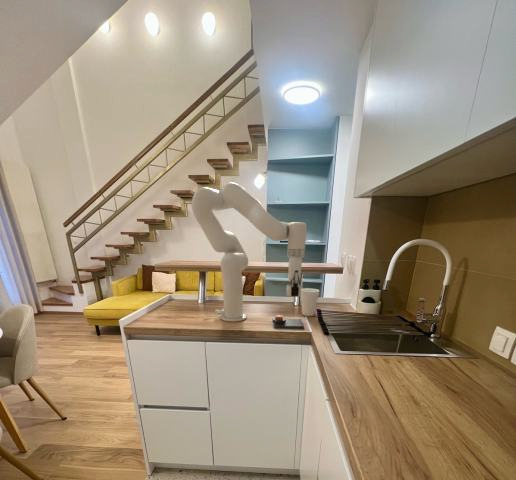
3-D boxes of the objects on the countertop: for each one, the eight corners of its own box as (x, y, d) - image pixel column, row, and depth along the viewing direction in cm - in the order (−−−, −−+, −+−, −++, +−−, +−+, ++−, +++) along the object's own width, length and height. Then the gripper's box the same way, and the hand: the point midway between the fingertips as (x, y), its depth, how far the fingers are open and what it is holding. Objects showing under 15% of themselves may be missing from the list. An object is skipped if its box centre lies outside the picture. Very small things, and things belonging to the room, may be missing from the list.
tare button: (275, 320, 129) (276, 316, 129) (275, 318, 132) (275, 314, 132) (282, 320, 129) (282, 317, 129) (282, 318, 132) (282, 315, 132)
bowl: (286, 297, 124) (287, 286, 123) (285, 293, 131) (286, 284, 129) (301, 297, 124) (302, 286, 123) (300, 294, 130) (300, 284, 129)
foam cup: (316, 312, 153) (318, 288, 148) (317, 317, 145) (320, 292, 140) (298, 311, 154) (300, 288, 149) (299, 316, 145) (301, 291, 140)
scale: (272, 328, 127) (273, 322, 126) (272, 321, 137) (272, 315, 136) (303, 329, 127) (304, 322, 126) (300, 321, 137) (301, 315, 136)
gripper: (285, 251, 128) (284, 290, 135) (289, 254, 112) (287, 298, 119) (302, 251, 128) (299, 290, 135) (307, 255, 112) (304, 298, 119)
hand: (293, 293), depth 127 cm, fingers closed on bowl, 6 cm apart
